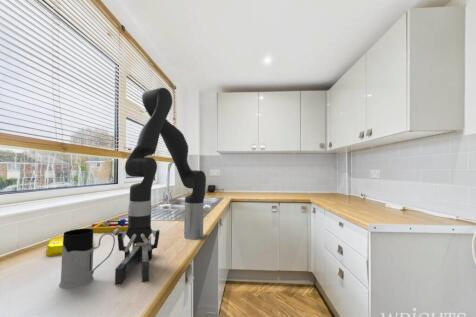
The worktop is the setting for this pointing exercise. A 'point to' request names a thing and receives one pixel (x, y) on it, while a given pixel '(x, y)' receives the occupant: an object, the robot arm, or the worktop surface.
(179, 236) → the worktop surface
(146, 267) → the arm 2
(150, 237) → the tan framed block
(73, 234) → the glass holder
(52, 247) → the element tile
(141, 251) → the plate
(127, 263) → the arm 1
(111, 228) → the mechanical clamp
